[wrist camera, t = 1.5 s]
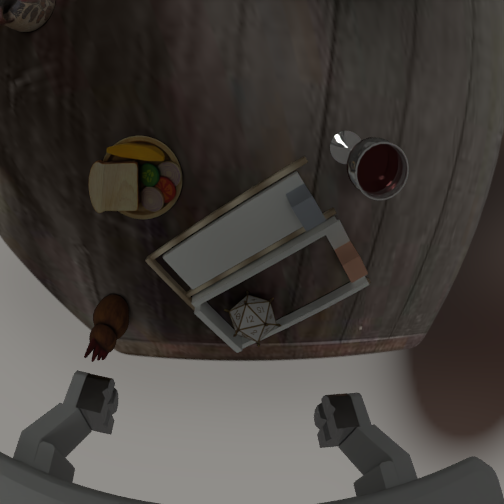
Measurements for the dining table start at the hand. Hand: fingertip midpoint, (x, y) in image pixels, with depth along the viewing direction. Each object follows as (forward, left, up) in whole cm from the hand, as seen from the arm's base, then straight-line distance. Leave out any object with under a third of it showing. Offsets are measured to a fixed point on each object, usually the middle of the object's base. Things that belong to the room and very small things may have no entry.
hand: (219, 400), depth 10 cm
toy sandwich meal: (+12, -6, -35) cm, 38 cm away
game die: (+11, +22, -35) cm, 43 cm away
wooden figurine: (+32, +9, -35) cm, 48 cm away
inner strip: (+5, +10, -35) cm, 36 cm away
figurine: (+9, -40, -35) cm, 54 cm away
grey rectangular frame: (+5, +22, -35) cm, 41 cm away
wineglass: (-15, +7, -35) cm, 38 cm away
